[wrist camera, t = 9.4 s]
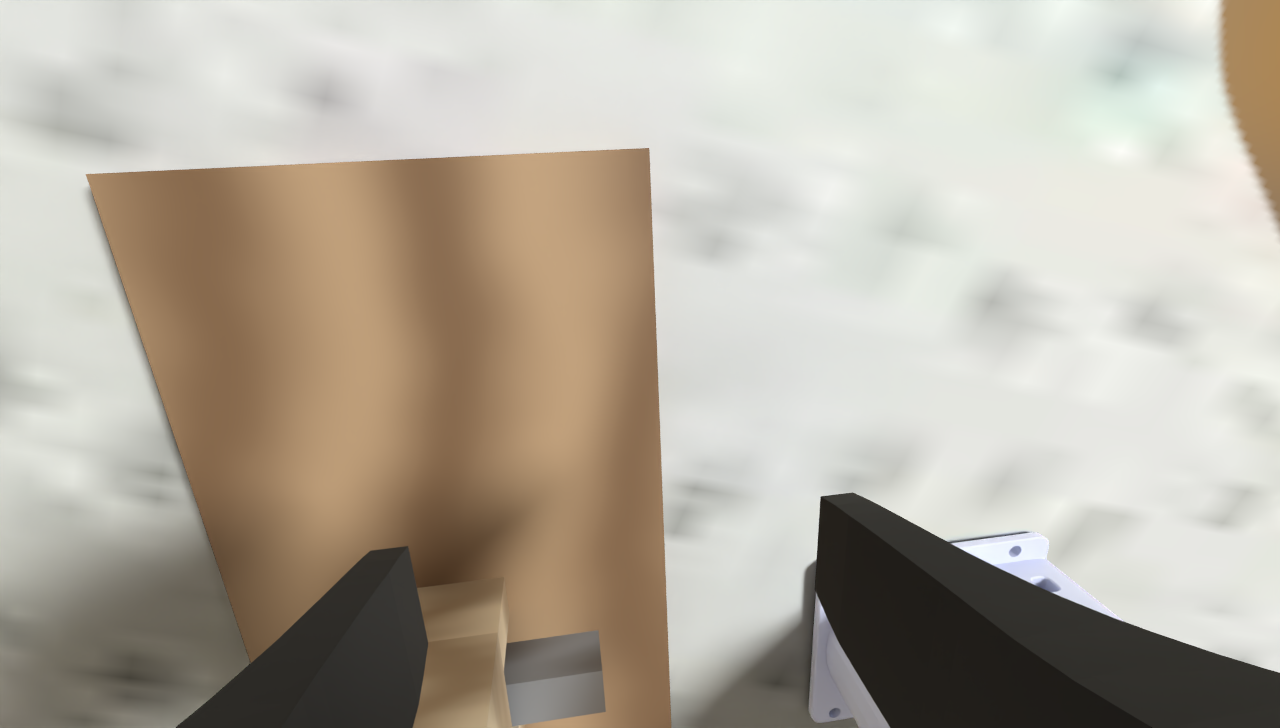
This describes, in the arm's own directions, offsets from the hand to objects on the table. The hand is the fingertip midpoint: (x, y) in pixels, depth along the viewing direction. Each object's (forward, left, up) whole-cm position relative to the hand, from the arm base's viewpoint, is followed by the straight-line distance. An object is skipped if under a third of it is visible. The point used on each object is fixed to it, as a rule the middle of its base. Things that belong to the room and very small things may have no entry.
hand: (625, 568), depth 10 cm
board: (+5, +5, -9) cm, 12 cm away
